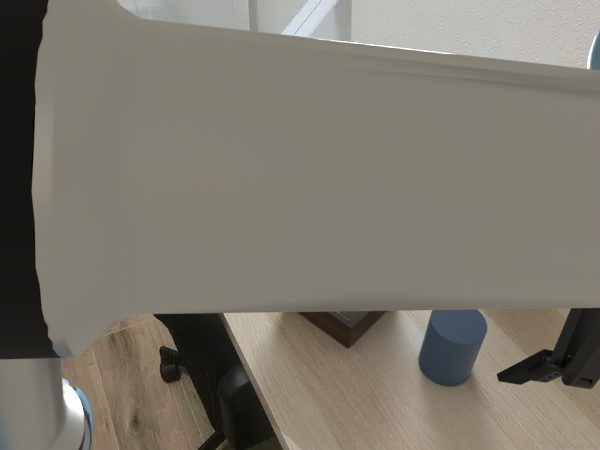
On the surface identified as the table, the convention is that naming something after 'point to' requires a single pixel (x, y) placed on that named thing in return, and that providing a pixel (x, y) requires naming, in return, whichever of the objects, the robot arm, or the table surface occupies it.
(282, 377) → the table surface
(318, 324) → the dark brown square tray
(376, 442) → the table surface
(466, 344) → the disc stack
